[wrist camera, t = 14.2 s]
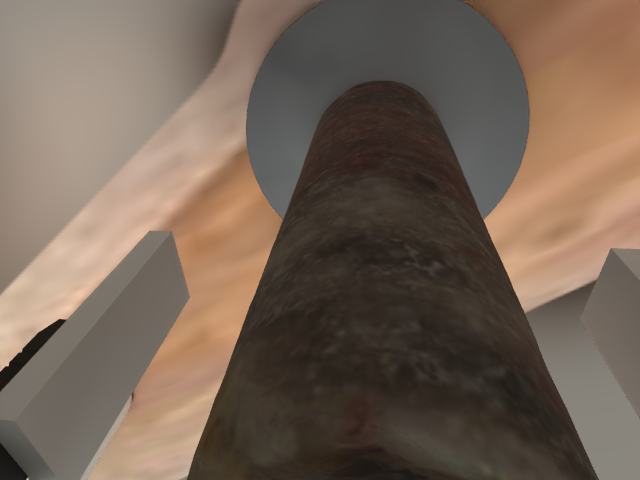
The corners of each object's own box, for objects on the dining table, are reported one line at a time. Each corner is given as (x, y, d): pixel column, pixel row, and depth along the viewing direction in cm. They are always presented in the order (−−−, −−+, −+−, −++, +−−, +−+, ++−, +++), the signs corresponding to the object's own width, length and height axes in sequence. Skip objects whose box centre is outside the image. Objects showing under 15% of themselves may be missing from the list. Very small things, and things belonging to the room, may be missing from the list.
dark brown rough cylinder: (460, 182, 23) (654, 663, 7) (347, 221, 26) (282, 645, 9) (420, 54, 20) (607, 374, 3) (294, 112, 23) (40, 465, 6)
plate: (233, -10, 21) (226, -10, 20) (558, -23, 19) (568, -24, 18) (265, 245, 29) (261, 254, 28) (491, 255, 27) (495, 266, 26)
